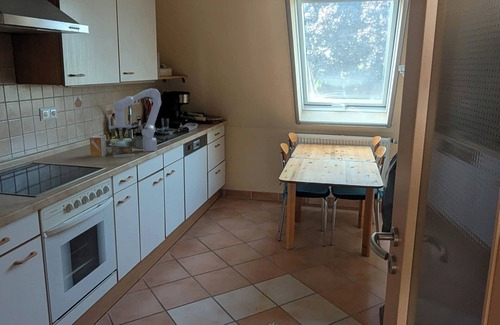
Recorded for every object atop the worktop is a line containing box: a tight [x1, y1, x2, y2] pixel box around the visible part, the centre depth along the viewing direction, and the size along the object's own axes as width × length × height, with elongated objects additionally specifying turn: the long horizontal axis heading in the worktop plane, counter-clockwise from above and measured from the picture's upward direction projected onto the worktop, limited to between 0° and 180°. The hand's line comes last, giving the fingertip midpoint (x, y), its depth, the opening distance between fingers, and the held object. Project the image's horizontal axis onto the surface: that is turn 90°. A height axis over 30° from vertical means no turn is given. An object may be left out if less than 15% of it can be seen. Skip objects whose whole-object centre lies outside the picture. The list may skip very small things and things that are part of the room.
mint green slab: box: [110, 134, 133, 143], centre depth 282 cm, size 13×8×4 cm, turn 114°
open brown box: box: [110, 145, 133, 155], centre depth 284 cm, size 13×11×4 cm
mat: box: [112, 152, 136, 159], centre depth 275 cm, size 14×9×1 cm, turn 114°
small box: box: [89, 135, 107, 158], centre depth 275 cm, size 8×6×13 cm
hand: (121, 138), depth 282 cm, fingers closed on mint green slab, 2 cm apart
